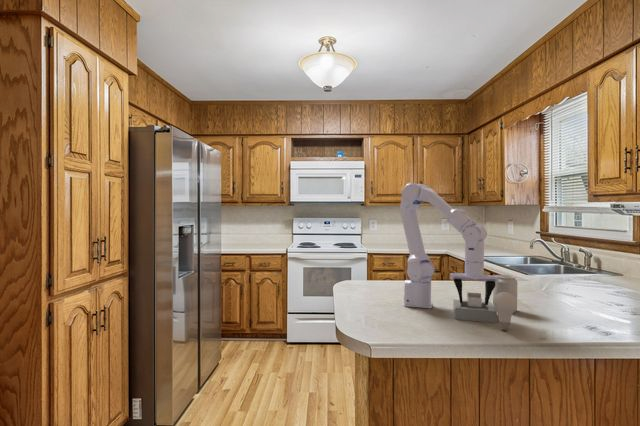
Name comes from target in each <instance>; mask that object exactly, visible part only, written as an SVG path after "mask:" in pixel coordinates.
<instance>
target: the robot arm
mask: <svg viewBox="0 0 640 426" xmlns="http://www.w3.org/2000/svg"><path fill="white" fill-rule="evenodd" d="M400 194H401V201H400V205H399V211H400V216H401V219H402V224H403V229H404V230H403V231H404V234H405V239H406V243H407V248H408V252H409V256H408V259H407V260H406V261H407V268H406V269H407V270H406V273H407V276H408V278H409V279H405V280H404V290H403V291H404V295H403V301H404V302H403V306H404V307H411V308H412V307H413V308H421V309H422V308H423V309H432V308H433V302H432V276H434V274H435V265H434V264H433V263H432V262H431V259H430V256H429V255H428V254H427V253H426V251H425V247H424V243H423V238H422V234H421V228H420V225H419V221H418V216H417V215H418V214H417V212H416V211H417V210H418V208H419V207H420V205H422V204H423V203H424V202H427V203H429V204H431V206H433V207H435V209H437V210H438V211H440V212H441V213H442V214H443V215H444V216H446V222H447V223H448V224H449V225H451V226H452V227H453V228H454V229H455V230H456V231H458V233H460V234H461V237H462V238H463V240H464V243H465V244H464V273H462V272H461V273H460V272H459V273H455V272H453V273H452V272H450V276H449V279H450V280H451V281H453V283H454V285H455V288H456V290H457V292H458V297H459V299H458V300H460V303H462V300H463V281H469V282H471V281H473V282H483V283H484V284H485V285H484V286H485V289H484V290H485V292H484V293H485V294H484V302H485V304H486V305H488V302H489V301H490V297H491V295H492V294H493V289H494V288H495V285H496V284H495V283H499V277H498V276H495V275H490V274H485V273H484V270H485V267H484V266H485V240H486V238H487V234H488V232H487V229H486V228H485V226H484V225H482V224H480V223H477V221H476V219H472V218H471V217H470V216H468V215H467V214H466V210H464V209H460V208H453V207H452V206H451V205H450V204H449V203H447V202H446V200H445V199H443V198H442V197H441V196H440V195H439V194H438V193H437V192H436V191H435V190H434V189H433V188H431V187H430V186H429V185H427V184H423V183H415V182H408V183H407V184H405V185H404V187H403V188H402V190H401V191H400Z"/></svg>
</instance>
